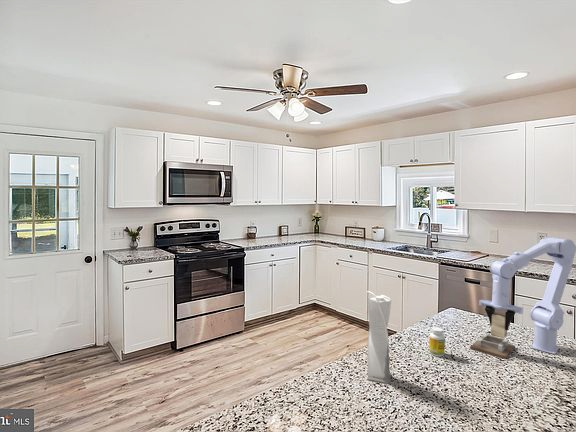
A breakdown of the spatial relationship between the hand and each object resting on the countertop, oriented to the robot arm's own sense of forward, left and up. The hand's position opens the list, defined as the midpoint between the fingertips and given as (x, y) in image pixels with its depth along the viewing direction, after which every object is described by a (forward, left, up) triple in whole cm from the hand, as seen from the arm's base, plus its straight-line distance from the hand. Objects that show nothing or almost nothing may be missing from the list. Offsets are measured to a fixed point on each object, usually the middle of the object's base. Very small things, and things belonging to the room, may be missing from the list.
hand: (499, 327), depth 137 cm
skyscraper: (+51, -23, -10) cm, 56 cm away
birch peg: (0, 0, -3) cm, 3 cm away
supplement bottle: (+20, -16, -10) cm, 27 cm away
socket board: (-1, -2, -9) cm, 10 cm away
